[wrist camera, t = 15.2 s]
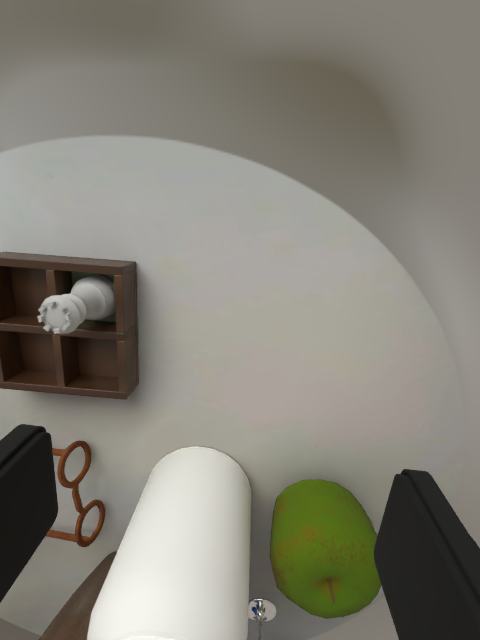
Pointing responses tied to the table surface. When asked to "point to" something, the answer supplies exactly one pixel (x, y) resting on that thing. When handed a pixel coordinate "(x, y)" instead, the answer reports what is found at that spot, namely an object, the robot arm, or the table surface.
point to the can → (182, 555)
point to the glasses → (77, 497)
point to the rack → (76, 347)
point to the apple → (323, 549)
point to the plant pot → (79, 606)
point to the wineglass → (261, 612)
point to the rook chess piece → (79, 305)
